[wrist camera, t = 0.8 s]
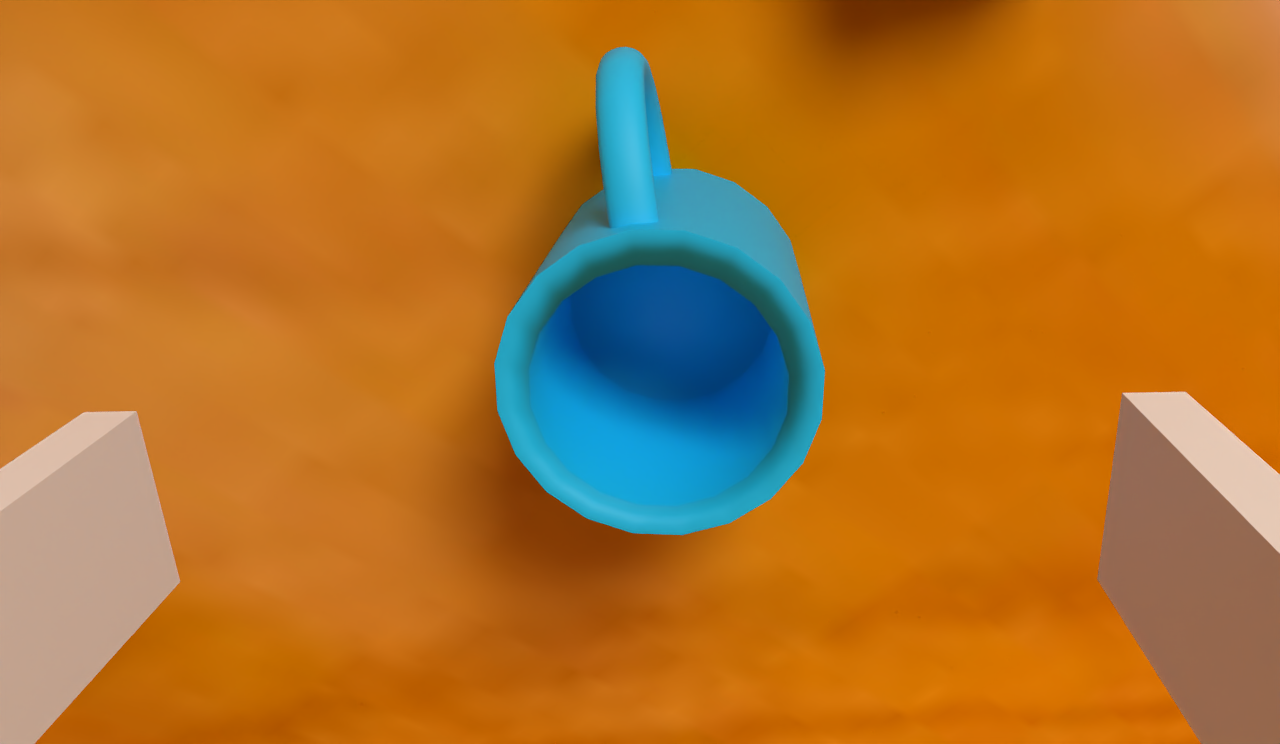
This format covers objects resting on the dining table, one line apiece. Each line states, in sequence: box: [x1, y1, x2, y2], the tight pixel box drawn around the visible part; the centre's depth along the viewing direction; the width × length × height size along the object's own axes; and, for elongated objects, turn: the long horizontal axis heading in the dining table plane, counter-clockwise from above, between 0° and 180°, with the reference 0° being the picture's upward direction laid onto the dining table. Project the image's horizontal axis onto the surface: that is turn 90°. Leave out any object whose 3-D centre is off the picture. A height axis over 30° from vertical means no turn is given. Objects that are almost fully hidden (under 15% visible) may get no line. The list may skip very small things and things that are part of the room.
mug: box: [494, 47, 825, 535], centre depth 28 cm, size 12×8×8 cm
